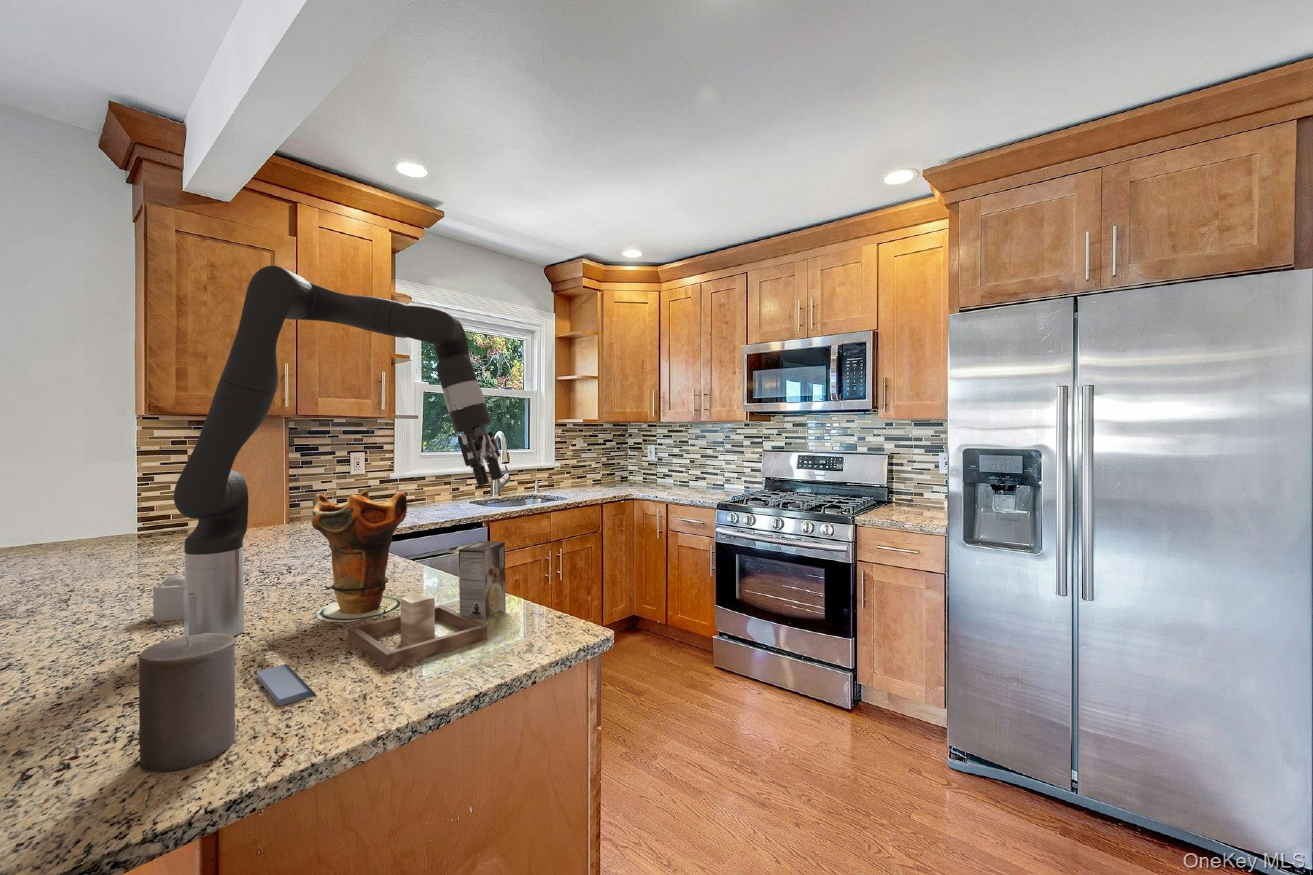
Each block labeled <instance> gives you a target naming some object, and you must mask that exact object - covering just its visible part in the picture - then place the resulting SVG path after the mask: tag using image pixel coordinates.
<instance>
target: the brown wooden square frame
mask: <svg viewBox="0 0 1313 875" xmlns="http://www.w3.org/2000/svg"><path fill="white" fill-rule="evenodd" d="M436 621H441V622H443V623H445V624H446V625H449V626H451V627H452V628H455V629H457V630H458V631H456V632H453V633H450V634H446V635H441V636H439V635H437V634H435V638H434V639H431V640H427V641H424V642H420V643H417V644H413V645H408V644H406V643H405V642H403V641H402V640H401V637H399V638H395V639H391V642H393V643H394V644H396V645H398V646H399V647H400V648H397V649H392V650H391V649H390V648H389V647H387V646H385V645H384V644H383V643H381V642H379V641H378V640H377V639H375V638H374V637H377V636H381V635H386V634H388V633H394V632H397V631H401V614H399V615H394V616H391V617H387V618H383V619H378V620H373V621H370V622H366V623H361V624H357V625H353V626H349V627H347V641H348V642H349V643H350V644H352V645H353V646H354V647H356V648H357V649H358V650H359V651H361V652H362V653H363V654H365V655H366V656H367V657H369V658H371V660H373V661H375V662H376V663H377V664H379V665H380V666H381V667H383V668H384V669H385V670H386V671H387V670H388V671H389V670H391V669H395V668H398V667H401V666H404V665H405V666H406V665H408V664H412V663H415V662H417V661H420V660H424V659H427V658H430V657H434V656H437V655H438V656H439V655H442V654H444V653H447V652H450V651H454V650H457V649H461V648H463V647H468V646H469V645H474V644H476V643H477V644H478V643H480V642H483V641H486V640H487V641H488V625H486V624H484V623H482V622H479V621H477V620H474V618H469V617H467V616H465V615H462V614H460V612H457V611H456V610H454V609H452V608H449V607H447V606H445V605H443V604H441V605H435V622H436Z"/></svg>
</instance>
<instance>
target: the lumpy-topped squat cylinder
mask: <svg viewBox="0 0 1313 875" xmlns="http://www.w3.org/2000/svg"><path fill="white" fill-rule="evenodd" d="M184 589H185V571H184V572H182V573H181V574H173V575H170V576H168V577H166V578H165V579H164V580H163V581H161V582H158V583H155V584H154V585H153V586H152V610H153V611H152V612H153V620H154V621H177V620H184V601H183V591H184Z"/></svg>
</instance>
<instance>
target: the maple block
mask: <svg viewBox="0 0 1313 875" xmlns="http://www.w3.org/2000/svg"><path fill="white" fill-rule="evenodd" d="M399 600H400V601H401V607H400V615H401V630H400V638H401V640H402V641H403V642H405V643H406V644H408V645H413V644H417V643H420V642H424V641H427V640H431V639H434V638H435V635H436V628H435V627H436V626H435V624H436V623H435V622H436V621H435V606H436V605H435V604H436V602H435V600H436V598H435V597H434V596H432V595H431V594H427V593H425V592H421V593H417V594H412V595H408V596H403V597H400V598H399Z"/></svg>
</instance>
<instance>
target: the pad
mask: <svg viewBox="0 0 1313 875" xmlns="http://www.w3.org/2000/svg"><path fill="white" fill-rule="evenodd" d="M256 679H257V680H258V681H259V682H260V683H261V685H262V686H263V687H264V689H265V690H266V691H267V692H268V694H269V695H270V697H272V699H274V702H276V704H277V705H278V706H279V707H281V706H285V705H288V704H291V703H294V702H298V701H300V700H304V699H308V698H310V697H314V696H316V695H317V694H316V692H315V691H314V690H312V688H311V687H310V686H309V685H307V683H306V682H305V681H304V680H303V679H302V678H301V677H300V676H299V675H298V674H297V672H296V671H294V670H293V669H292V668H291V667H290V666H289V664H288V663H284V664H281V665H277V666H273V667H270V668H269V667H268V668H265V669H262V670H258V671H256Z"/></svg>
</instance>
